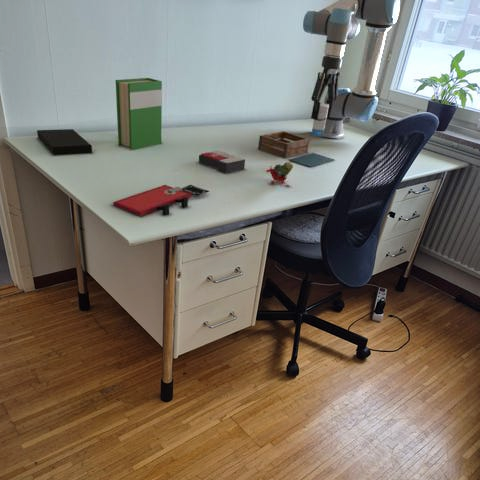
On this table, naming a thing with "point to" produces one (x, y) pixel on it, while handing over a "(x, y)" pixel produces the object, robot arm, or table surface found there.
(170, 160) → the table surface
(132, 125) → the hardback book
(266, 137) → the crate
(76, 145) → the external hard drive
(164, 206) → the red board with handle
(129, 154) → the table surface
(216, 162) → the calculator
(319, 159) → the mat
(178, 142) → the table surface
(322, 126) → the ink box
